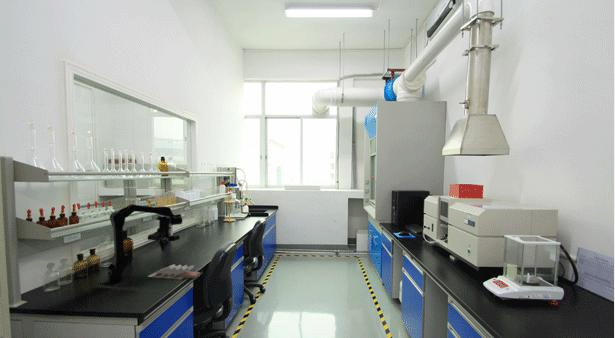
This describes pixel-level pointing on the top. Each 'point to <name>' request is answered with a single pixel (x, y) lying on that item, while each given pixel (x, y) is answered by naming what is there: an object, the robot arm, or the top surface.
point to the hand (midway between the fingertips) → (163, 250)
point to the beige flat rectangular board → (166, 276)
